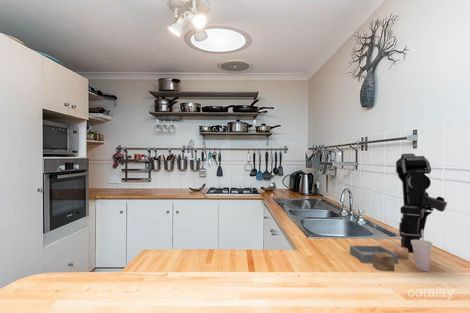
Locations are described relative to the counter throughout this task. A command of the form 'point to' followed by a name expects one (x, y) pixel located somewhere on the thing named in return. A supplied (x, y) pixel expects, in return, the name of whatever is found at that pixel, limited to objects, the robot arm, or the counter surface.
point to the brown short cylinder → (401, 252)
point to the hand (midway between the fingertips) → (418, 232)
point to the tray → (370, 253)
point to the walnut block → (383, 261)
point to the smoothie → (422, 253)
